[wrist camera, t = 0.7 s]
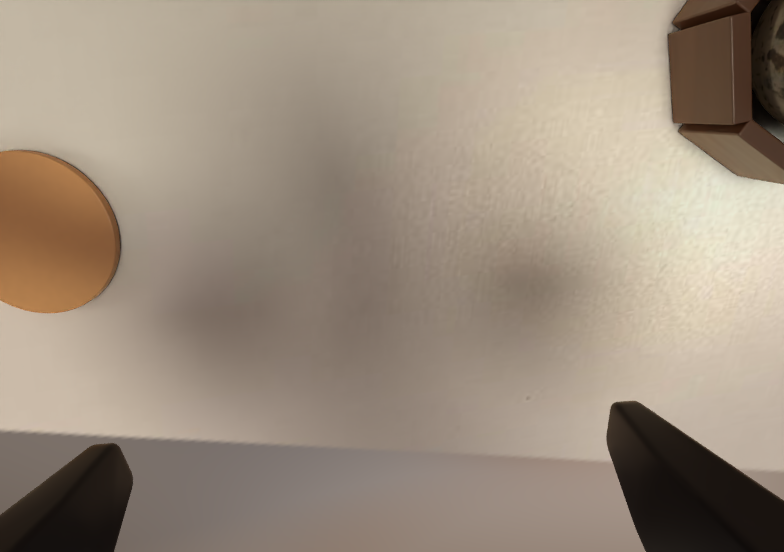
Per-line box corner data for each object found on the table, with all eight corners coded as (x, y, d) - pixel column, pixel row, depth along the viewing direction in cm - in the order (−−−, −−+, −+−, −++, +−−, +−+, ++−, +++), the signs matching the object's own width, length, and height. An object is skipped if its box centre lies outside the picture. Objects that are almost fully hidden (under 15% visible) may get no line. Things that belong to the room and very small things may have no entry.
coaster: (144, 292, 21) (140, 295, 20) (-2, 324, 21) (-9, 328, 21) (82, 132, 19) (76, 133, 19) (-77, 171, 19) (-86, 172, 19)
